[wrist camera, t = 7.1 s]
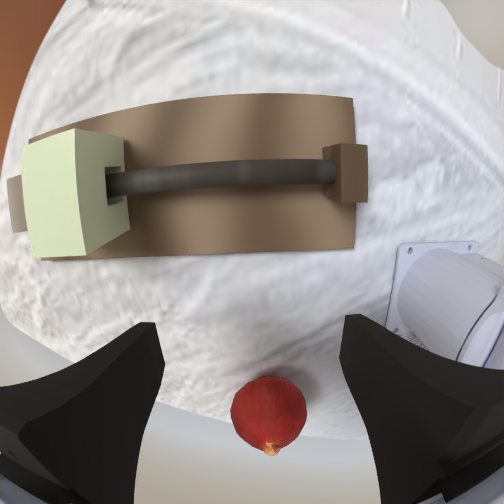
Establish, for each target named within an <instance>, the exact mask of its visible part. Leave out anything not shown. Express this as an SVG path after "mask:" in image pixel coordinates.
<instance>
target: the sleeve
mask: <svg viewBox="0 0 504 504" xmlns="http://www.w3.org/2000/svg"><path fill="white" fill-rule="evenodd" d="M118 172H125V166H124V142H123V137H119V136H114V135H109V134H104V133H99V132H93V131H88V130H82V129H76V128H74V129H71V130H67V131H64V132H61V133H58V134H55V135H52V136H50V137H47V138H44V139H41V140H39V141H36V142H33V143H31V144H28V145H26V146H23V147H21V173H22V188H23V199H24V208H25V216H26V223H27V229H28V235H29V241H30V246H31V251H32V256H33V258H42V257H63V256H84V255H88V254H89V253H91V252H93V251H94V250H96V249H98V248H99V247H101V246H103V245H104V244H106V243H108V242H109V241H111V240H113V239H114V238H116V237H118V236H120V235H121V234H123V233H125V232H127V231H128V230H130V223H129V214H128V205H127V196H119V197H111V198H107V194H106V182H105V175H106V174H112V173H118Z"/></svg>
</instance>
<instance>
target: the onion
mask: <svg viewBox="0 0 504 504" xmlns="http://www.w3.org/2000/svg"><path fill="white" fill-rule="evenodd" d="M230 411H231V419H232V422H233V425H234V427H235V430H236V432H237V434H238V435H239V436H240V437H241V438H242V439H243V440H244V441H246V442H247V443H249V444H250V445H251V446H252V447H255V448H257V449H260V450H262V451H264V452H265V453H266V454H267V455H270V456H274V455H276V454H277V453H278V452H279V451H280V449H281V448H283V447H285V446H287V445H289V444H290V443H291V442H292V441H294V440H295V439H296V438H297V437H298V435H299V434H300V432H301V431H302V429H303V427H304V425H305V422H306V418H307V410H306V403H305V399H304V396H303V394H302V392H301V391H300V390H299V389H298V388H297V387H296V386H295V385H294V384H293V383H291V382H290V381H287V380H285V379H283V378H278V377H271V376H269V377H262V378H259V379H256V380H253V381H251V382H248V383H247V384H246V385H245V386H243V387H242V388H241V389H240V390H239V391H238V392H237V393H236V394H235V397H234V399H233V402H232V406H231V410H230Z"/></svg>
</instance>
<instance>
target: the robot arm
mask: <svg viewBox="0 0 504 504" xmlns="http://www.w3.org/2000/svg"><path fill="white" fill-rule="evenodd" d="M468 246H469V247H468ZM409 248H410V251H409V252H408V249H409ZM478 250H479V243H478V242H476V241H456V242H427V243H403V244H401V245H400V246H399V247H398V251H397V259H396V267H395V275H394V281H393V288H392V294H391V300H390V305H389V311H388V316H387V321H386V326H385V328H384V327H383V326H381V325H379V324H378V323H376V322H374V321H373V320H371V319H369V318H367V317H366V316H364V315H362V314H354V315H345V322H344V329H343V336H342V343H341V349H340V355H339V359H340V363H341V367H342V370H343V374H344V377H345V380H346V382H347V384H348V387H349V389H350V391H351V394H352V396H353V398H354V400H355V403H356V405H357V407H358V409H359V412H360V414H361V416H362V419H363V421H364V424H365V426H366V429H367V433H368V436H369V440H370V444H371V447H372V452H373V456H374V460H375V465H376V470H377V476H378V482H379V488H380V497H381V504H504V266H502V265H500V264H498V263H496V262H494V261H492V260H490V259H488V258H486V257H484V256H482V255H480V254H478ZM394 329H396V330H395V331H394ZM410 332H413V333H414V334H415V335H416V336H417V337H418V338H419V339H420V341H421V342H422V343H423V344H424V345H425V346H426V347H427V349H428V350H429V351H427V350H425V349H423V348H421V347H419V346H417V345H415V344H413V343H411V342H409V341H407V340H405V339H403V338H401V337H400V336H398V335H400V334H405V333H410ZM164 367H165V361H164V358H163V354H162V350H161V346H160V342H159V338H158V334H157V329H156V325H155V323H152V322H140V323H138V324H136V325H135V326H133V327H132V328H130V329H128V330H127V331H126V332H124V333H123V334H121V335H120V336H118V337H117V338H115V339H114V340H112V341H111V342H109V343H108V344H106V345H105V346H103V347H102V348H100V349H99V350H97V351H95V352H94V353H92V354H91V355H89V356H87V357H86V358H84V359H82V360H80V361H79V362H77V363H75V364H73V365H71V366H69V367H67V368H64V369H62V370H60V371H58V372H55V373H53V374H50V375H47V376H44V377H42V378H39V379H36V380H32V381H29V382H25V383H21V384H16V385H11V386H4V387H0V452H1V454H0V504H134V490H135V478H136V470H137V464H138V457H139V452H140V447H141V442H142V437H143V434H144V430H145V427H146V424H147V421H148V419H149V416H150V413H151V411H152V408H153V405H154V402H155V400H156V397H157V394H158V391H159V389H160V386H161V382H162V377H163V373H164Z"/></svg>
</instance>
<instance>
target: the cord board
mask: <svg viewBox="0 0 504 504" xmlns="http://www.w3.org/2000/svg"><path fill="white" fill-rule="evenodd" d="M74 128H76V129H82V130H88V131H93V132H99V133H104V134H109V135H114V136H119V137H123V142H124V166H125V172H118V173H112V174H106V175H105V182H106V194H107V198H111V197H119V196H127V205H128V214H129V223H130V230H128V231H127V232H125V233H123V234H121V235H120V236H118V237H116V238H114V239H113V240H111V241H109V242H108V243H106V244H104V245H103V246H101V247H99V248H98V249H96V250H94V251H93V252H91V253H89V254H88V255H84V256H63V257H42V258H41V261H47V260H73V259H98V258H123V257H149V256H174V255H199V254H224V253H249V252H274V251H299V250H323V249H348V248H354V239H355V218H356V202H366V203H368V151H367V145H360V144H356V143H355V123H354V108H353V98H347V97H338V96H326V95H311V94H285V93H260V94H233V95H218V96H207V97H197V98H189V99H181V100H174V101H167V102H161V103H155V104H149V105H144V106H139V107H134V108H129V109H125V110H120V111H116V112H112V113H108V114H104V115H100V116H96V117H93V118H89V119H86V120H82V121H79V122H76V123H73V124H70V125H66V126H63V127H61V128H58V129H55V130H52V131H49V132H47V133H44V134H41V135H39V136H36V137H34V138H31V139H29V144H31V143H33V142H36V141H39V140H41V139H44V138H47V137H50V136H52V135H55V134H58V133H61V132H64V131H67V130H71V129H74ZM7 190H8V201H9V210H10V217H11V224H12V231H13V233H16V232H23V231H28V229H27V223H26V216H25V208H24V199H23V188H22V174H21V175H18V176H15V177H12V178H10V179H7Z"/></svg>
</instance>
